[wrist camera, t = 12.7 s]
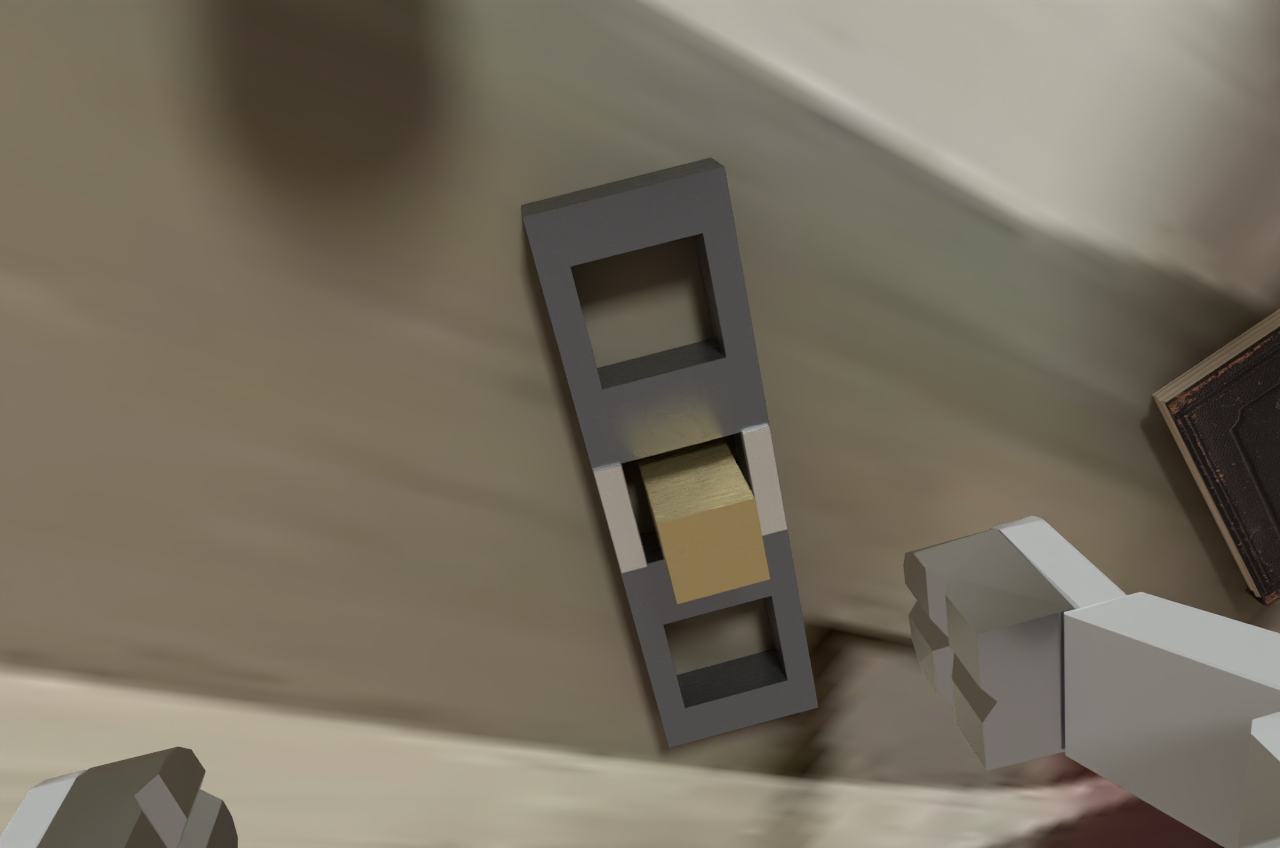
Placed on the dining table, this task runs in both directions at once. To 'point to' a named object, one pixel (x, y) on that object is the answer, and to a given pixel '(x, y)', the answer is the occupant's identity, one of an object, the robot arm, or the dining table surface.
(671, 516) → the block
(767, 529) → the grey slotted tray
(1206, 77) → the dining table surface
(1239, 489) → the hardcover book
